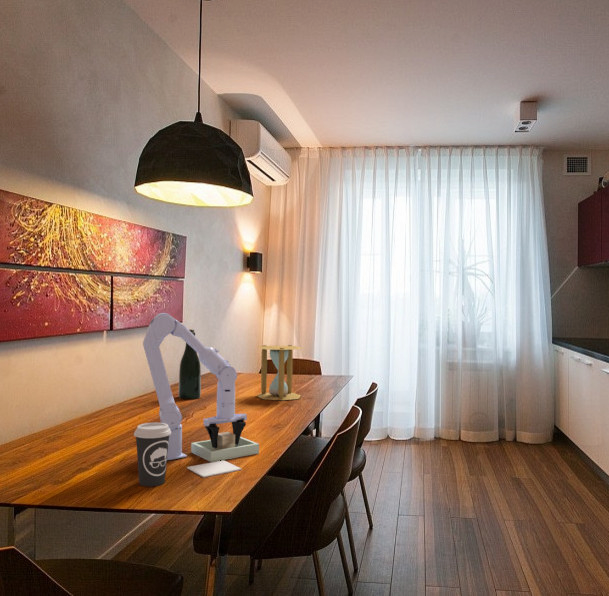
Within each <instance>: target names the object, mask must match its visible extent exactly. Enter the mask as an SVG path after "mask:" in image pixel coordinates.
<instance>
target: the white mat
mask: <svg viewBox="0 0 609 596" xmlns="http://www.w3.org/2000/svg"><path fill="white" fill-rule="evenodd" d="M186 469H187V470H189V471H191V472H193V473H194V474H196V475H199V476H200V477H201V478H207V477H213V476H214V477H215V476H218V475H222V474H228V473H233V472H238V471H242V468H241V467H239V466H237V465H235V464H232V463H231V462H228V461H226V460H221V461H215V462H206V463H202V464H197V465H191V466H187V467H186Z"/></svg>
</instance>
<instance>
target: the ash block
mask: <svg viewBox="0 0 609 596" xmlns="http://www.w3.org/2000/svg"><path fill="white" fill-rule="evenodd" d="M233 447H236V446H235V434H233V432H230V431H226V432H225V431H224V432H218V446H217V448H215V449H214V451H215V450H221V449H227V448H233Z"/></svg>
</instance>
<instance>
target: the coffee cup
mask: <svg viewBox="0 0 609 596" xmlns="http://www.w3.org/2000/svg"><path fill="white" fill-rule="evenodd" d="M136 427H137V428H136V429H135V431H134V433H133V435H134V437H135V440H136V441H135V443H136V453H137V454H136V456H137V470H138V471H137V472H138V483H139V484H138V485H140V486H142V487H157V486H158V487H159V486H162V485H163V484H165V480H166V472H167V462H168V460H167V453H168V444H169V435H170V434H171V430H170V428H169V426H168V424H165V423H161V422H145V423H141V424H138V425H137V426H136Z"/></svg>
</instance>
